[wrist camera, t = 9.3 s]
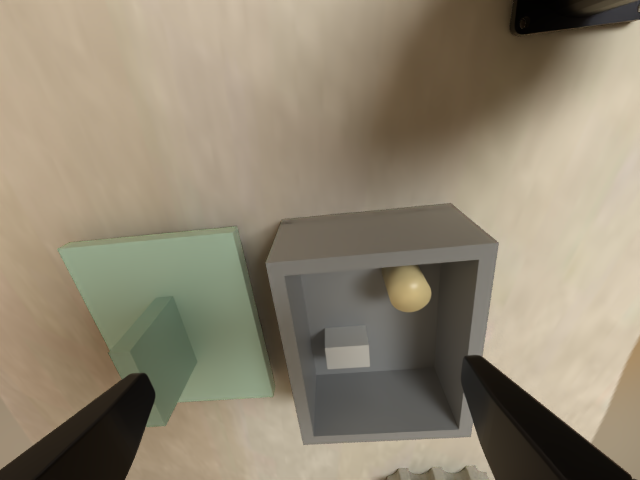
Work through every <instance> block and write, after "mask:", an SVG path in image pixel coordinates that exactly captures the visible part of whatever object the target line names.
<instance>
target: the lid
mask: <svg viewBox="0 0 640 480" xmlns="http://www.w3.org/2000/svg"><path fill="white" fill-rule="evenodd" d="M57 250H58V252H59V254H60V255H61V257H62V259H63V261H64V263H65V265H66V267H67V269H68V271H69V273H70V275H71V277H72V279H73V281H74V283H75V284H76V286H77V288H78V290H79V292H80V294H81V296H82V298H83V300H84V302H85V304H86V306H87V308H88V310H89V312H90V314H91V315H92V317H93V319H94V321H95V323H96V325H97V327H98V329H99V331H100V333H101V335H102V337H103V339H104V341H105V343H106V344H107V346H108V348H109V350H110V351H109V352H108V354H109V356H110V357H111V359H112V361H113V363H114V365H115V367H116V369H117V371H118V373H119V375H120V377H121V379H123V378H125V377H126V376H127V375H129V374H131V373H146V374H147V375H148V377H149V379H150V381H151V383H152V385H153V387H154V390H155V393H156V397H155V402H154V404H153V407H152V410H151V413H150V416H149V419H148V422H147V424H146V426H147V427H157V426H166V424H167V422H168V420H169V418H170V416H171V414H172V412H173V410H174V408H175V406H176V404H177V402H194V401H211V400H228V399H245V398H263V397H273V396H274V391H275V383H274V379H273V375H272V370H271V366H270V362H269V358H268V354H267V350H266V345H265V341H264V337H263V333H262V329H261V324H260V320H259V316H258V312H257V308H256V304H255V299H254V295H253V291H252V287H251V283H250V279H249V274H248V270H247V266H246V262H245V258H244V253H243V249H242V245H241V241H240V237H239V233H238V228H237V226H235V227H224V228H214V229H203V230H193V231H183V232H172V233H162V234H151V235H141V236H131V237H120V238H110V239H100V240H89V241H79V242H69V243H67V244H65V245H64V246H62V247H60V248H58V249H57Z"/></svg>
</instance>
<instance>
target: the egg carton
mask: <svg viewBox="0 0 640 480" xmlns="http://www.w3.org/2000/svg"><path fill="white" fill-rule="evenodd" d="M387 480H489V478H488V476H487V473H486V472H481V471H478V470H477V468H476V466H466V467H465V468H464V469H463V470H462V471H460V472H458V473H447V472H445V471H444V470H443V469H442V467H432V468H431V469H430V471H428V472H427V473H425V474H413V473H411V472H410V471H409V470H408V468H399V469H398V470H397V472H396V473H395V474H393V475H389V476H387Z"/></svg>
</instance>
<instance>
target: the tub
mask: <svg viewBox="0 0 640 480" xmlns="http://www.w3.org/2000/svg"><path fill="white" fill-rule="evenodd" d="M498 244H499V243H498V242H497V241H496V240H495V239H493V238H492V237H491V236H490V235H489V234H487V233H486V232H485V231H484V230H483V229H481V228H480V227H479V226H478V225H477V224H475V223H474V222H473V221H472V220H471V219H469V218H468V217H467V216H466V215H465V214H463V213H462V212H461V211H460V210H459V209H457V208H456V207H455V206H454V205H453V204H451V203H449V204H438V205H428V206H418V207H407V208H397V209H386V210H376V211H366V212H355V213H345V214H334V215H324V216H314V217H303V218H293V219H282V221H281V224H280V226H279V229H278V231H277V234H276V237H275V239H274V242H273V245H272V247H271V250H270V252H269V255H268V258H267V260H266V263H265V264H266V268H267V273H268V278H269V283H270V288H271V292H272V297H273V302H274V307H275V312H276V316H277V321H278V326H279V331H280V336H281V340H282V345H283V350H284V355H285V359H286V364H287V369H288V374H289V379H290V383H291V388H292V393H293V398H294V403H295V407H296V412H297V417H298V422H299V427H300V431H301V436H302V441H303V445H309V444H331V443H352V442H374V441H395V440H416V439H438V438H459V437H471V432H472V425H473V420H472V416H471V413H470V410H469V407H468V404H467V401H466V398H465V395H464V391H463V388H462V385H461V369H462V361H463V357H464V356H466V355H480V356H482V355H483V348H484V342H485V335H486V328H487V321H488V314H489V307H490V300H491V293H492V286H493V279H494V272H495V265H496V258H497V251H498Z"/></svg>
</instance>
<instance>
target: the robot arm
mask: <svg viewBox="0 0 640 480" xmlns="http://www.w3.org/2000/svg"><path fill="white" fill-rule="evenodd" d="M639 4H640V0H513V5H512V14H511V22H510V31H511V33H512V34H513V35H515V36H524V35H531V34H539V33H547V32H555V31H562V30H570V29H578V28H585V27H593V26H601V25H609V24H616V23H624V22H632V21H636V20H640V12H638V6H639ZM521 19H524V20H525V23H526V24H525V27H524V28H523V29H522V28H521V27H520V24H519V23H520V20H521ZM461 385H462V388H463V391H464V395H465V398H466V401H467V404H468V407H469V410H470V413H471V416H472V420H473V423H474V426H475V429H476V432H477V435H478V438H479V441H480V444H481V447H482V449H483V452H484V454H485V457H486V459H487V461H488V464H489V466H490V468H491V471H492V473H493V475H494V478H495V480H636V479H632V477H631V475H630V474H629V473H628V472H626V471H625V470H624V469H623V468H621V467H620V466H619V465H617V464H616V463H615V462H614V461H613V460H611V459H610V458H609V457H607V456H606V455H605V454H604V453H602V452H601V451H600V450H599V449H597V448H596V447H595V446H594V445H592V444H591V443H590V442H589V441H587V440H586V439H585V438H584V437H582V436H581V435H580V434H579V433H577V432H576V431H575V430H574V429H572V428H571V427H570V426H569V425H567V424H566V423H565V422H564V421H562V420H561V419H560V418H559V417H557V416H556V415H555V414H554V413H552V412H551V411H550V410H549V409H547V408H546V407H545V406H544V405H542V404H541V403H540V402H538V401H537V400H536V399H535V398H533V397H532V396H531V395H530V394H528V393H527V392H526V391H525V390H523V389H522V388H521V387H520V386H518V385H517V384H516V383H515V382H513V381H512V380H511V379H510V378H508V377H507V376H506V375H505V374H503V373H502V372H501V371H500V370H498V369H497V368H496V367H495V366H493V365H492V364H491V363H490V362H488V361H487V360H486V359H485V358H483V357H482V356H480V355H466V356H464V357H463V361H462V369H461ZM155 397H156V393H155V390H154V387H153V385H152V383H151V381H150V379H149V377H148V375H147V374H146V373H131V374H129V375H127V376H126V377H125V378H123V379H122V380H121V381H119V382H118V383H117V384H115V385H114V386H113V387H111V388H110V389H109V390H107V391H106V392H104V393H103V394H102V395H100V396H99V397H98V398H96V399H95V400H94V401H92V402H91V403H90V404H88V405H87V406H86V407H84V408H83V409H82V410H80V411H79V412H78V413H76V414H75V415H74V416H72V417H71V418H69V419H68V420H67V421H65V422H64V423H63V424H61V425H60V426H59V427H57V428H56V429H55V430H53V431H52V432H51V433H49V434H48V435H47V436H45V437H44V438H43V439H41V440H40V441H38V442H37V443H36V444H34V445H33V446H32V447H30V448H29V449H28V450H26V451H25V452H24V453H22V454H21V455H20V456H18V457H17V458H16V459H14V460H13V461H12V462H10V463H9V464H7V465H6V466H5V467H3V468H2V469H1V470H0V480H125V478H126V476H127V474H128V472H129V469H130V467H131V465H132V463H133V460H134V458H135V455H136V453H137V450H138V447H139V445H140V442H141V439H142V436H143V433H144V430H145V427H146V424H147V422H148V419H149V416H150V413H151V410H152V407H153V404H154V402H155Z"/></svg>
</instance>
